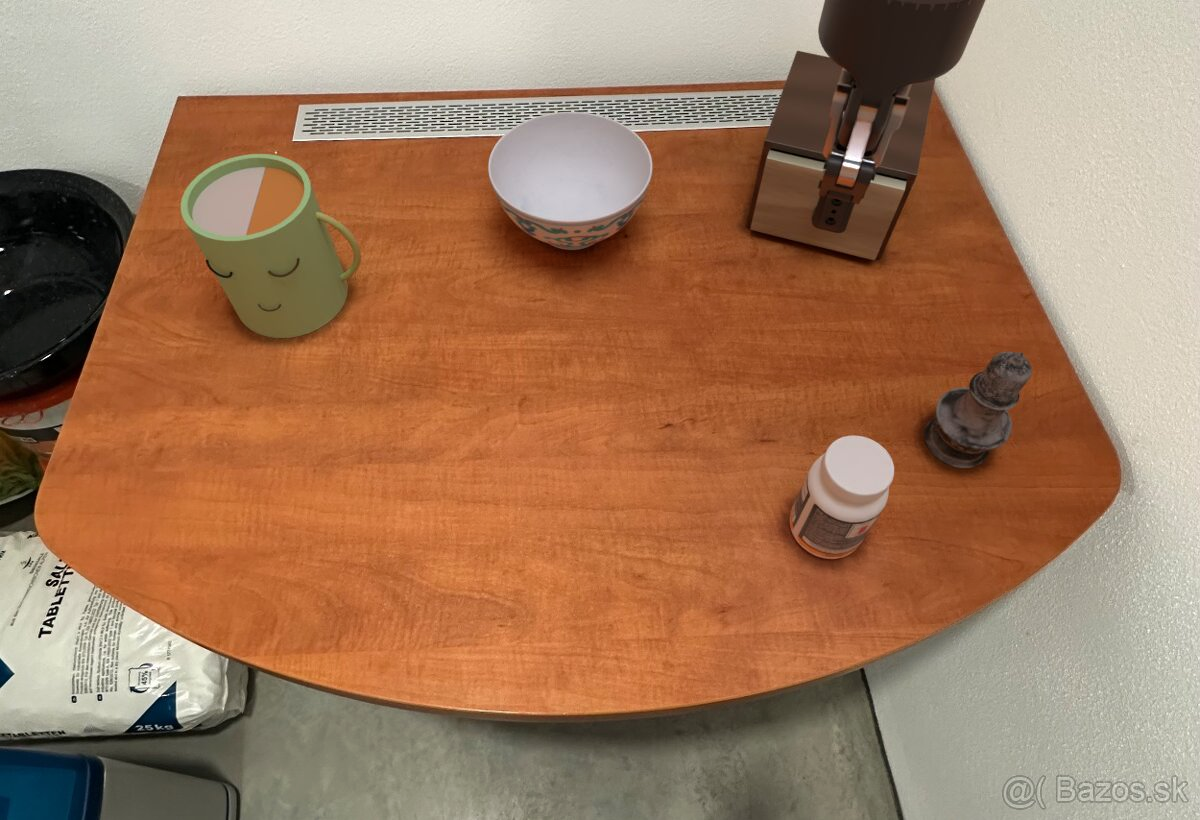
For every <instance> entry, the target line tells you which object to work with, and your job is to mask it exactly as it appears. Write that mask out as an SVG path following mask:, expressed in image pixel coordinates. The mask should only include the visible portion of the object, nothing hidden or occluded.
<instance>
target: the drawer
mask: <svg viewBox="0 0 1200 820" xmlns="http://www.w3.org/2000/svg"><path fill="white" fill-rule="evenodd" d="M824 164H825V163H824V162H820V161H815V160H811V157H807V156H803V155H799V154H794V153H790V152H786V151H781V150H777V152H776V151H772V150H769V153H768V156H767V159H766V163H765V167H764V172H763V176H762V180H761V185H760V189H759V193H758V198H757V202H756V206H755V211H754V215H753V219H752V224H751V228H750V227H749V228H750V230H751V231H755V232H759V233H763V234H766V235H771V236H774V237H778V238H781V239H787V240H790V241H794V242H798V243H803V244H806V245H811V246H815V247H818V248H823V249H827V250H831V251H835V252H839V253H843V254H847V255H851V256H856V257H859V258H863V259H867V260H871V261H876V257H877V254H878V252H879V250H880V247H881V245H882V243H883V240H884V238H885V236H886V233H887V231H888V229H889V226H890V224H891V222H892V219H893V217H894V215H895V212H896V210H897V208H898V205H899V203H900V201H901V198H902V196H903V194H904V191H905V187H906V181H902V180H898V178H899V177H894V176H890V175H886V174H881V173H877V172H876V175H875V178H874V181H873V180H871V182H870V184H869V187H868V188H867V190H866V192H865V195H864V198H863V199H861V201H860V203H859V204H854V207H853V210H852V213H851V216H850V219H849V221H848V224H847V227H846V230H845V231H844V232H842V233H834V232H830V231H826V230H822V229H818V228H815V227H814V226H813V224H812V220H813V217H814V213H815V210H816V207H817V203H818V200H819V197H820V195H818V194H819V191H820V188H818V185H819V182H820V180H823V178H821V176H822V173H823V167H824ZM824 170H826V169H824Z"/></svg>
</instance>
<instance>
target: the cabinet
mask: <svg viewBox="0 0 1200 820" xmlns="http://www.w3.org/2000/svg"><path fill="white" fill-rule="evenodd" d="M792 60H793V61H792V63H791V66H790V68H789V71H788V75H787V78H786V79H785V83H784V86H783V88H782V91H781V93H780V97H779V100H778V103H777V105H776V107H775V110H774V113H773V115H772V116H773V117H772V119H771V122H770V125H769V127H768V130H767V134H766V136H765V137H764V142H763V147H762V152H761V155H760V158H759V159H760V160H759V164H758V169H757V172H756V173H757V174H756V177H755V182H754V187H753V190H752V194H751V195H752V196H751V200H750V204H749V209H748V214H747V217H746V222H745V227H747V228H751V224H752V219H753V215H754V211H755V206H756V202H757V198H758V193H759V189H760V185H761V180H762V176H763V172H764V167H765V163H766V159H767V156H768V153H769V150H772V151H776V152H777V150H781V151H786V152H790V153H794V154H799V155H803V156H807V157H812V158H816V159H820V160H825V161H826V160H827V158H825V157H824V156H823V154H822V151H823V148H824V144H825V141H826V137H827V134H828V130H829V127H830V123H831V118H830V116H829V110H830V107H831V103H832V100H833V96H834V93H835V89H836V86H837V83H838V82H839V78H840V75H841V71H842V68H843V67H841V66H839V65H838V64H836V63H835V62H834V61H833V60H832V59H831V58H830V57H829V56H826V55H821V54H817V53H812V52H811V53H810V52H805V51H802V50H796V52H795V54H794V58H793V59H792ZM935 83H936V79H933V80H930V81H926V82H922V83H914V84H912V86H911V89H910V92H909V95H908V97H910V99H909V103H908V106H907V109H906V112H905V115H904V118H903V120H902V123H901V125H900V128H899V129H898V130H897V131H895V132H894V133H893V134H892V136H891V139H890V141H889V144H888V147H887V149H886V152H885V155H884V157H883V160H882V163H881V165H880V166H879V167H878V168H876V169H875V170H874V171H876V172H877V173H881V174H886V175H890V176H894V177H899V178H898V180H902V181H906V187H905V191H904V194H903V196H902V198H901V201H900V203H899V205H898V208H897V210H896V212H895V215H894V217H893V219H892V222H891V224H890V226H889V229H888V231H887V233H886V236H885V238H884V240H883V243H882V245H881V247H880V250H879V252H878V254H877V257H876V259H877V260H881V259H882V257H883V254H884V252H885V250H886V247H887V245H888V243H889V240H890V238H891V236H892V234H893V231H894V229H895V227H896V224H897V222H898V220H899V218H900V216H901V214H902V211H903V208H904V206H905V204H906V202H907V199H908V197H909V194H910V193H911V191H912V188H913V186H914V183H915V181H916V179H917V176H918V172H919V167H920V162H921V157H922V152H923V146H924V142H925V141H924V140H925V137H926V136H925V135H926V130H927V124H928V119H929V115H930V109H931V105H932V98H933V94H934V89H935ZM876 259H875V260H876Z"/></svg>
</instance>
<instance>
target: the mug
mask: <svg viewBox="0 0 1200 820" xmlns="http://www.w3.org/2000/svg"><path fill="white" fill-rule="evenodd" d="M180 213H181V216H182V219H183V221H184V223H185V225H186V227H187V229H188V231H189V232H190V234H191V235H192V237H193V239H194V240H195V242H196V245H197V246H198V247H199V249H200V251H201V253H202V255H203V256H204V258H205V263H206V266H207V268H208V270H210V271H211V272H212V273H213V274H214V276H215V278H216V280H217V281H218V283H219V285H220V286H221V287H222V290H223V292H224V293H225V295H226V297H227V299H228V300H229V302H230V304H231V306H232V308H233V310H234V311H235V313H236V315H237V316H238V318H239V320H240V321H241V322H242V323H243V325H244V326H245V327H246V328H248V329H249V330H250V331H252V332H254V333H255V334H257V335H260V336H263V337H267V338H273V339H290V338H297V337H302V336H304V335H308V334H311V333H313V332H315V331H317V330H319V329H321V328H323V327H324V326H326V325H328V323H330V322H331V321H332V320H333V319H334V318H336V316H337V315H338V314H339V313H340V312H341V310H342V309H343V307H344V306H345V303H346V301H347V298H348V292H349V285H348V280H349V279H350V278H351V277H352V276H353V275H355V273H357V271H358V269H359V268H360V265H361V262H362V253H361V248H360V246H359V243H358V241H357V239H356V238H355V235H353V233H352V232H351V231H350V230H349V229H348V228H347V227H346V226H345V225H344V224H342V223H341V222H340V221H338V220H337V219H335V218H333V217H331V216H329V215H328V214H326V213H323V212H322V210H321V207H320V204H319V201H318V199H317V196H316V193H315V191H314V188H313V185H312V183H311V180H310V177H309V175H308V173H307V172H306V170H305V169H304V168H303V167H302V166H301V165H300V164H298V163H297V162H296V161H293V160H291V159H289V158H287V157H284V156H281V155H276V154H269V153H252V154H251V153H249V154H243V155H239V156H238V155H237V156H234V157H231V158H227V159H224V160H222V161H220V162H217V163H215V164H213V165H211V166H210V167H207V168H206V169H205V170H203V171H202V172H201V173H199V174H198V175H196V177H194V179H193V180H192V181H191V182H190V183H189V184H188V185H187V187H186V188H185V190H184V192H183V194H182V196H181V201H180ZM327 224H328V225H329V226H331V227H332V228H334V229H336V230H337V231H338V232H339V233H340V234H341V235H342V236H343V237H344V238H345V239H346V241H347V243H349V246H350V247H351V250H352V254H353V259H352V262H351V265H350V267H349V268H348V269H347V270H345V271H344V269H343V266H342V264H341V261H340V258H339V255H338V253H337V250H336V247H335V244H334V242H333V240H332V239H333V238H332V237H331V234H330V231H329V229H328V226H327Z"/></svg>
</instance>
